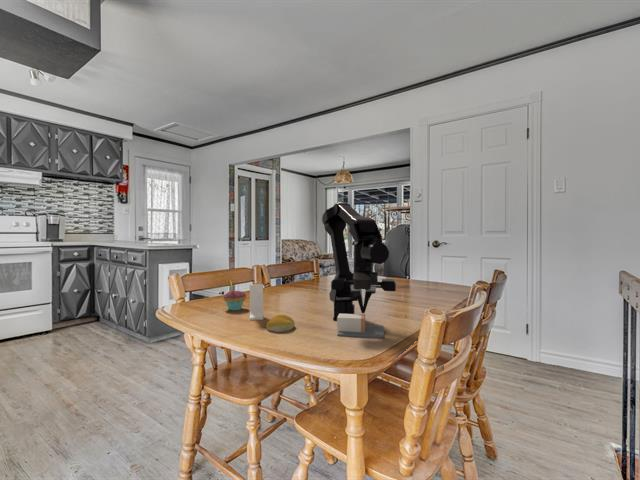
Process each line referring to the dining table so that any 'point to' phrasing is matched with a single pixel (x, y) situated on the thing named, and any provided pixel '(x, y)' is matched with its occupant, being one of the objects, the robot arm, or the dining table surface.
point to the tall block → (351, 322)
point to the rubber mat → (366, 332)
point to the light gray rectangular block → (256, 302)
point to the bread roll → (280, 323)
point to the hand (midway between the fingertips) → (363, 313)
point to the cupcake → (234, 299)
